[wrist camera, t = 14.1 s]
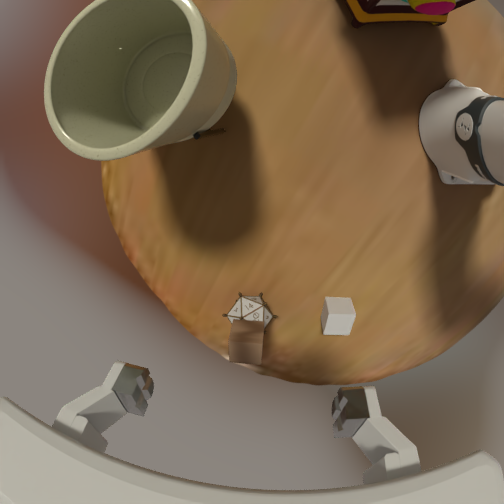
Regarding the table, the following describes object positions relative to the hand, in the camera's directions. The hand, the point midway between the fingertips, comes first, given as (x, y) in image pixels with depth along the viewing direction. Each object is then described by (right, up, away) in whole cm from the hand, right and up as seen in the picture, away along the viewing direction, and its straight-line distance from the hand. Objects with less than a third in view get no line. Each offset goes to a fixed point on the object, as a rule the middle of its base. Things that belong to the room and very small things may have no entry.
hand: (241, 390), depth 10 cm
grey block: (+16, -5, +40) cm, 43 cm away
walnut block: (0, -7, +34) cm, 34 cm away
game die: (+1, -4, +41) cm, 41 cm away
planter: (-8, +30, +24) cm, 39 cm away
